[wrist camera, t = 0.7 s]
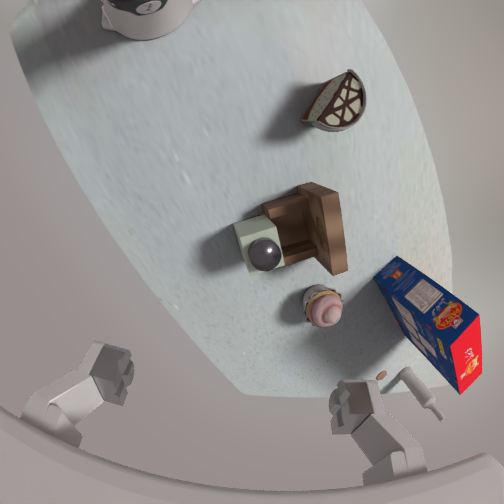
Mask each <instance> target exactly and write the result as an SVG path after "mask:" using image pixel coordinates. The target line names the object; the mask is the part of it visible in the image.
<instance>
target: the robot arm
mask: <svg viewBox="0 0 504 504" xmlns="http://www.w3.org/2000/svg"><path fill="white" fill-rule="evenodd" d="M200 1H201V0H101V3H103V6H102V11H103V12H102V22H101V25H102V27H103V28H104V29H106V30H113V31H117V32H119V33H121V34H122V35H124V36H126V37H128V38H131V39H136V40H149V39H154V38H158V37H161V36H164V35H166V34H168V33H170V32H171V31H173V30H175V29H176V28H177V27H178V26H180V25H181V24H182V23H183V21H184V20H185V19H186V18H187V16H188V14H189V12H190V10H191V9H192V7H193V6H195V5H196V4H197V3H199V2H200ZM130 358H131V352H130V350H127V349H123V348H120V347H116V346H113V345H109V344H106V343H103V342H99V341H96V340H95V341H94V342H93V343H92V344H91V346H90V347H89V349H88V351H87V353H86V355H85V356H84V358H83V360H82V362H81V364H80V366H79V368H78V369H77V370H72V371H71V372H69V373H67V374H65V375H64V376H62V377H61V378H59V379H57V380H55V381H54V382H52V383H50V384H48V385H47V386H45V387H43V388H41V389H40V390H38V391H36V392H35V393H33V394H32V396H31V398H30V399H29V401H28V404H27V405H26V407H25V409H24V411H23V413H22V415H21V417H20V418H18V417H17V416H15V415H13V414H12V413H10V412H8V411H7V410H5V409H4V408H2V407H1V406H0V504H504V468H503V466H502V465H501V464H500V463H499V462H498V461H497V460H495V459H494V458H493V457H492V456H490V455H489V454H488V453H481V454H478V455H476V456H473V457H471V458H468V459H465V460H462V461H460V462H457V463H454V464H451V465H448V466H445V467H442V468H439V469H436V470H432V471H429V472H427V468H426V463H425V459H424V455H423V451H422V447H421V445H420V444H419V443H418V442H417V441H416V440H415V439H414V438H413V437H412V436H411V435H410V434H409V433H408V432H407V431H406V430H405V429H404V428H403V427H402V426H401V425H400V424H399V423H398V422H397V421H396V420H395V419H394V418H393V417H392V416H391V415H390V414H389V413H385V409H384V405H383V401H382V397H381V393H380V390H379V386H378V382H377V381H376V380H341V381H339V383H338V384H337V386H338V388H337V389H335V390H334V391H333V392H332V394H331V395H330V399H329V411H330V412H331V414H332V415H333V418H332V419H331V428H332V434H351V436H352V437H353V439H354V440H355V442H356V443H357V444H358V446H359V447H360V448H361V450H362V451H363V453H364V454H365V455H366V457H367V458H368V459H369V461H370V462H371V463H372V465H373V466H372V467H371V468H369V469H368V470H366V471H365V472H364V473H363V483H364V486H357V487H349V488H339V489H328V490H311V491H264V490H248V489H236V488H227V487H219V486H211V485H205V484H198V483H192V482H187V481H182V480H177V479H172V478H168V477H164V476H160V475H156V474H152V473H148V472H145V471H141V470H137V469H134V468H131V467H128V466H124V465H121V464H118V463H115V462H112V461H110V460H107V459H104V458H101V457H99V456H96V455H93V454H91V453H88V452H86V451H84V450H81V449H79V445H80V442H81V439H82V435H81V433H80V432H79V431H78V430H77V429H76V428H75V426H74V425H75V424H77V423H78V422H79V421H80V420H82V419H83V418H84V417H85V416H87V415H88V414H89V413H90V412H91V411H93V410H94V409H95V408H97V406H99V405H100V404H101V403H103V402H104V401H108V402H111V403H114V404H118V405H121V406H123V404H124V401H125V399H126V396H127V390H126V387H127V386H129V385H130V384H131V382H132V379H133V375H134V364H133V362H132V361H131V360H130Z"/></svg>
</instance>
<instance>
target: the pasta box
mask: <svg viewBox="0 0 504 504" xmlns="http://www.w3.org/2000/svg"><path fill="white" fill-rule="evenodd" d="M373 278H374V279H375V281H376V283H377V285H378V286H379V288H380V290H381V292H382V294H383V295H384V297H385V299H386V301H387V303H388V304H389V306H390V308H391V310H392V312H393V314H394V315H395V317H396V319H397V321H398V323H399V325H400V327H401V329H402V331H403V333H404V335H405V336H406V337H407V338H408V339H409V340H410V341H411V342H412V343H413V344H414V345H415V347H416V348H417V349H418V350H419V351H420V352H421V353H422V354H423V355H424V356H425V357H426V358H427V359H428V360H429V361H430V362H431V364H432V365H433V366H434V367H435V368H436V369H437V370H438V371H439V372H440V373H441V374H442V376H443V377H444V378H445V379H446V380H447V381H448V382H449V383H450V384H451V385H452V386H453V388H454V389H455V390H456V391H457V392H458V393H459V394H460V395H461V394H462V393H463V392H464V391H465V390H466V389H467V388H468V387H469V386H470V385H471V384H472V383H473V382H474V381H475V380H476V379H477V378H478V376H480V374H481V373H482V345H481V328H480V317H479V314H478V313H477V312H475V311H474V310H473V309H471V308H470V307H469V306H468V305H466V304H465V303H463V302H462V301H461V300H459V299H458V298H457V297H455V296H454V295H453V294H451V293H450V292H449V291H447V290H446V289H445V288H443V287H442V286H440V285H439V284H438V283H436V282H435V281H433V280H432V279H430V278H429V277H428V276H426V275H425V274H423V273H422V272H420V271H419V270H417V269H416V268H415V267H413V266H412V265H410V264H409V263H407V262H406V261H404V260H403V259H401V258H400V257H398V256H396V257H395V258H394V259H393V260H392V261H391V262H390V263H388V264H387V265H386V266H385V267H384V268H383V269H382V270H381V271H380V272H379V273H378V274H376V275H375V276H374V277H373Z"/></svg>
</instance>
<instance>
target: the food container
mask: <svg viewBox="0 0 504 504" xmlns="http://www.w3.org/2000/svg"><path fill="white" fill-rule="evenodd" d="M365 107H366V91H365V88H364V85H363V83H362V81H361V79H360V78H359V76H358V75H357V74H356V73H355V72H354V71H353V70H351V69H349V70H347V72H345V73H343V74H341V75H339V76H337V77H335V78H333V79H331V80H328V81H326V82H324V83H323V85H322V86H321V88H320V89H319V91H318V92H317V94H316V95H315V97H314V98H313V100H312V101H311V103H310V104H309V106H308V107H307V109H306V111H305V112H304V114H303V115H302V117H301V118H300V121H301V122H303V123H305V124H309V125H313V126H315V127H316V128H319V129H321V130H324V131H328V132H339V131H343V130H345V129H348V128H350V127H352V126H353V125H355V124H356V123H357V122H358V121H359V119H360V118H361V117H362V115H363V113H364V111H365Z"/></svg>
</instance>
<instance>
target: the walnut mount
mask: <svg viewBox="0 0 504 504" xmlns="http://www.w3.org/2000/svg"><path fill="white" fill-rule="evenodd" d="M297 188H298V193H299V194H294V195H291V196H287V197H283V198H280V199H276V200H273V201H269V202H266V203H262V207H263V211H264V212H261V213H259V215H260V216H261V215H264V214H265V215H266V216H267V217H268V218H269V220H270V221H271V222H272V223H273V224H274V225H275V226H276V228H277V232H278V237H279V241H280V245H281V250H282V254H283V259H284V264H285V265H284V266H287V265H290V264H293V263H296V262H299V261H302V260H305V259H308V258H311V257H315V258H316V259H317V260H318V261H319V262H320V263H321V264H322V265H323V266H324V267H325V268H326V269H327V271H328V272H329V273H330V274H331V275H332V276H334V275H337V274H340V273H343V272H345V271H348V265H347V255H346V246H345V238H344V230H343V222H342V215H341V208H340V201H339V194H338V192H336V191H333V190H331V189H328V188H326V187H323V186H321V185H318V184H315V183H313V182H310V183H306V184H302V185H298V186H297ZM284 266H281V267H284Z"/></svg>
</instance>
